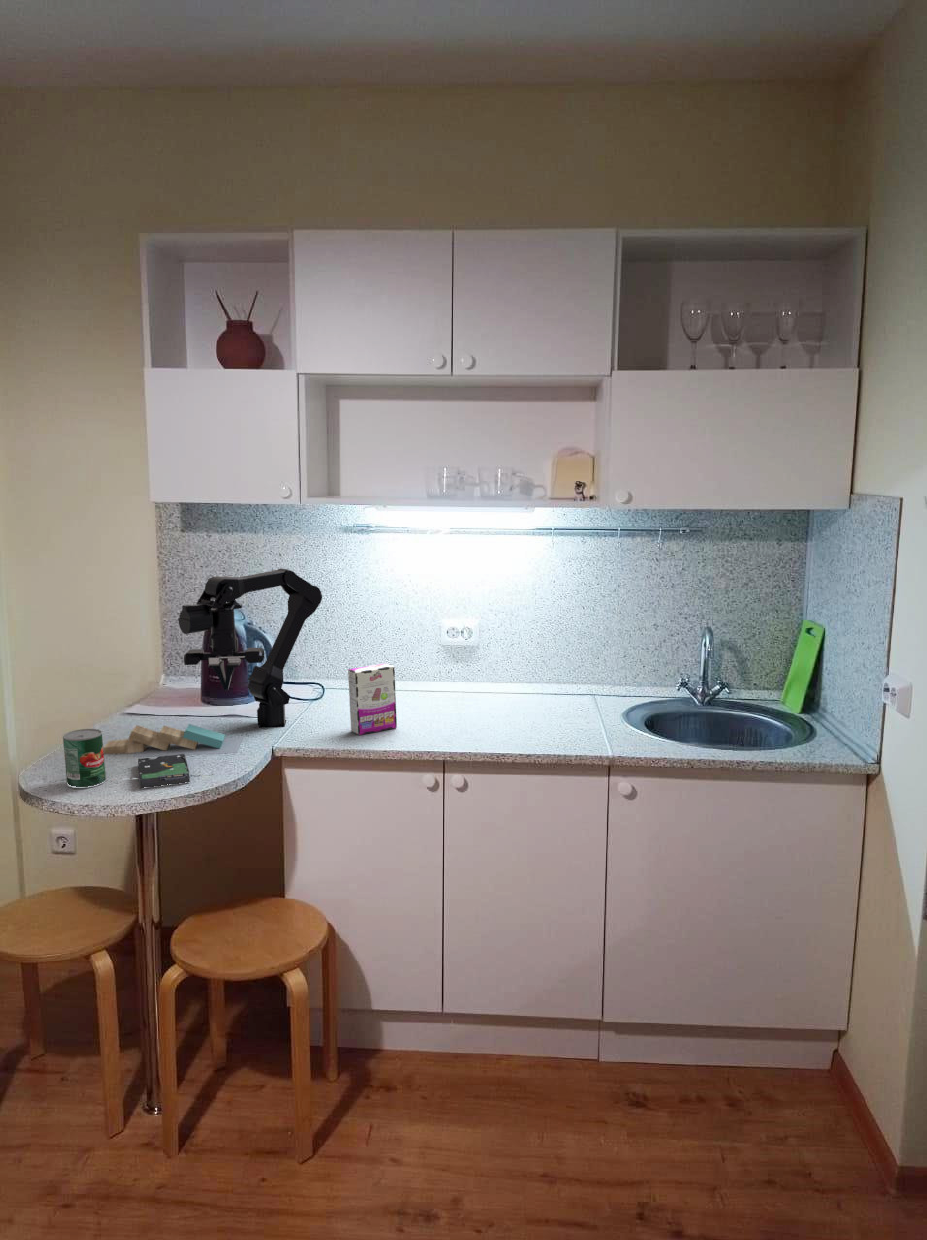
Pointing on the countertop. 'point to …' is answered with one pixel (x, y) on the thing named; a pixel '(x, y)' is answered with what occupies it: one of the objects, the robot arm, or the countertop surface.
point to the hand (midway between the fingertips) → (226, 690)
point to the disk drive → (163, 770)
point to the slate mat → (227, 747)
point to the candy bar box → (372, 698)
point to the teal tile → (204, 736)
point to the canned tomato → (84, 757)
